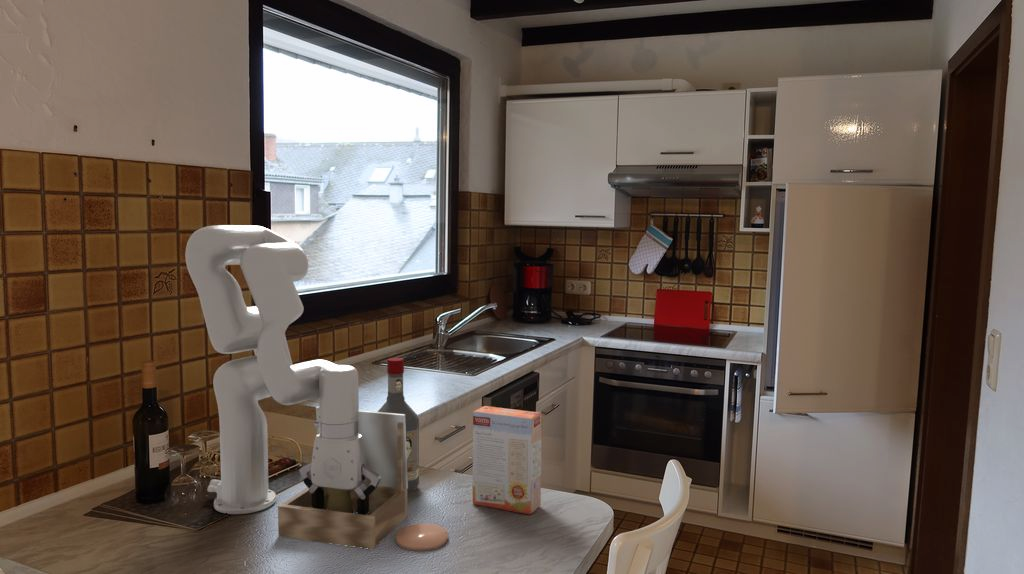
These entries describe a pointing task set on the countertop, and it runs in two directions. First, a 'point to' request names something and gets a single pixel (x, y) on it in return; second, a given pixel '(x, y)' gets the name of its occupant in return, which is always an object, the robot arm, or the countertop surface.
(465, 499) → the countertop surface
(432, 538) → the peach flat disc
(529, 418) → the cracker box
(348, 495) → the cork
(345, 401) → the robot arm
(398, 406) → the liquor
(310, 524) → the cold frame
